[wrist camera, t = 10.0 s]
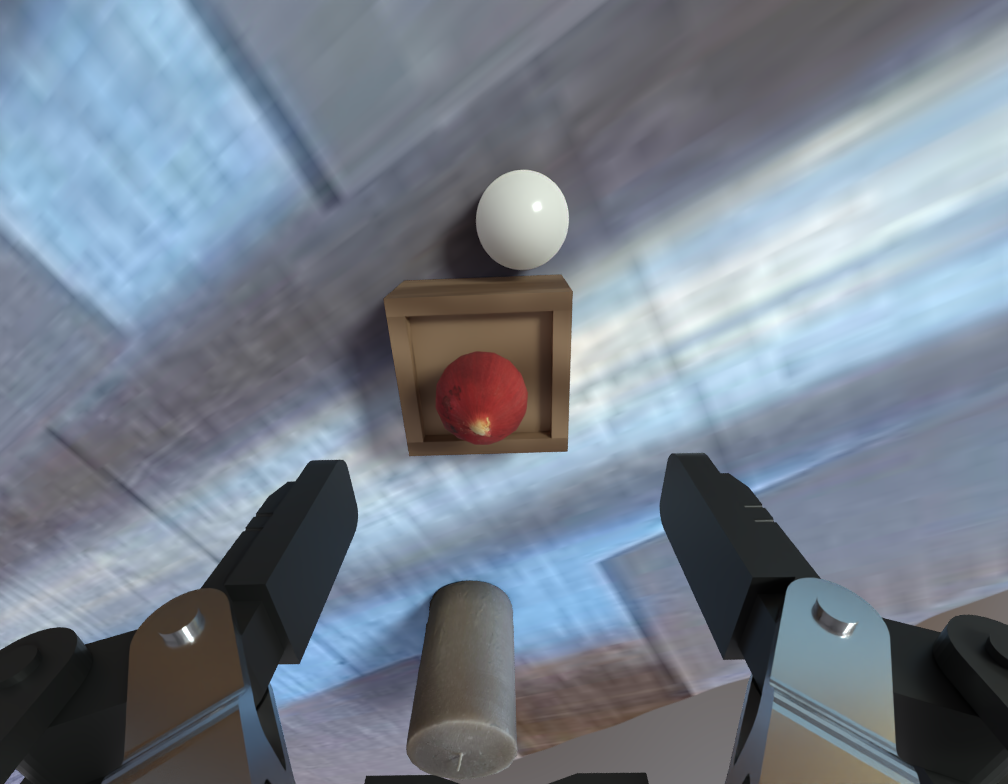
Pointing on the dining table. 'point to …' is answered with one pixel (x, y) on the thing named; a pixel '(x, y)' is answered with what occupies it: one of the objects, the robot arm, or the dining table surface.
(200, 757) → the robot arm
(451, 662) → the pillar candle
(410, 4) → the dining table surface
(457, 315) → the brown open square tray
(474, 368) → the onion
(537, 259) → the white rounded pebble
